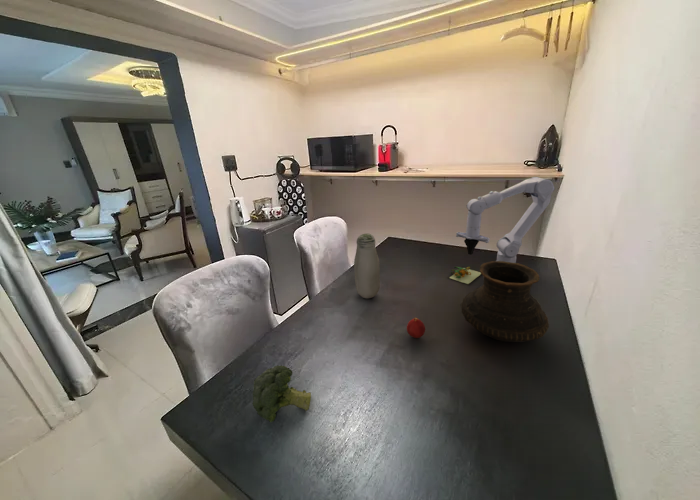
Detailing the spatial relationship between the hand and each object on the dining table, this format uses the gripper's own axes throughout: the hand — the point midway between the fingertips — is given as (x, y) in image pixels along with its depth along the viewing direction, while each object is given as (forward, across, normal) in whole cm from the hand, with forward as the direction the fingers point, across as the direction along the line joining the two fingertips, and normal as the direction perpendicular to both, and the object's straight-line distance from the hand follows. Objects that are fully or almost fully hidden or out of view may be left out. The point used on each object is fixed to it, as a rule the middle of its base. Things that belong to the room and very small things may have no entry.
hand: (470, 253), depth 124 cm
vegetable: (+10, 0, -100) cm, 100 cm away
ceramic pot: (+10, +27, -35) cm, 45 cm away
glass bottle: (+10, -21, -48) cm, 53 cm away
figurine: (+8, -5, -5) cm, 10 cm away
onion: (+10, +9, -56) cm, 58 cm away
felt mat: (+9, +1, -5) cm, 11 cm away
